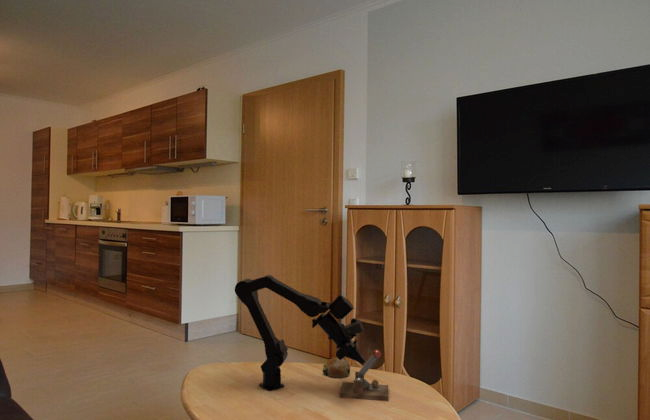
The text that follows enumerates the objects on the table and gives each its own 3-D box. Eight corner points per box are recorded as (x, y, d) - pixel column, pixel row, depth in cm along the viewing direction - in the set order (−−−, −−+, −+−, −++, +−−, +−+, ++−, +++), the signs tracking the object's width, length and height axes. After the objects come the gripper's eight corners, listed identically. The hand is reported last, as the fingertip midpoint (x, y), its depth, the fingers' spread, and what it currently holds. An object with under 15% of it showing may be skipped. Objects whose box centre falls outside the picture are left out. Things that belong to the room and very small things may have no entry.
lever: (351, 381, 153) (375, 350, 152) (352, 375, 159) (376, 345, 158) (365, 393, 152) (390, 362, 151) (366, 386, 158) (390, 356, 157)
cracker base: (339, 397, 151) (339, 380, 151) (342, 386, 161) (342, 370, 161) (388, 401, 149) (388, 384, 149) (388, 389, 159) (388, 373, 159)
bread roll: (342, 389, 168) (352, 370, 167) (318, 375, 170) (327, 356, 169) (346, 379, 178) (355, 361, 177) (323, 366, 179) (332, 348, 179)
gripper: (347, 318, 147) (380, 355, 145) (351, 307, 165) (381, 339, 164) (322, 341, 148) (355, 378, 146) (329, 327, 166) (359, 360, 165)
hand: (364, 362), depth 155 cm, fingers closed
